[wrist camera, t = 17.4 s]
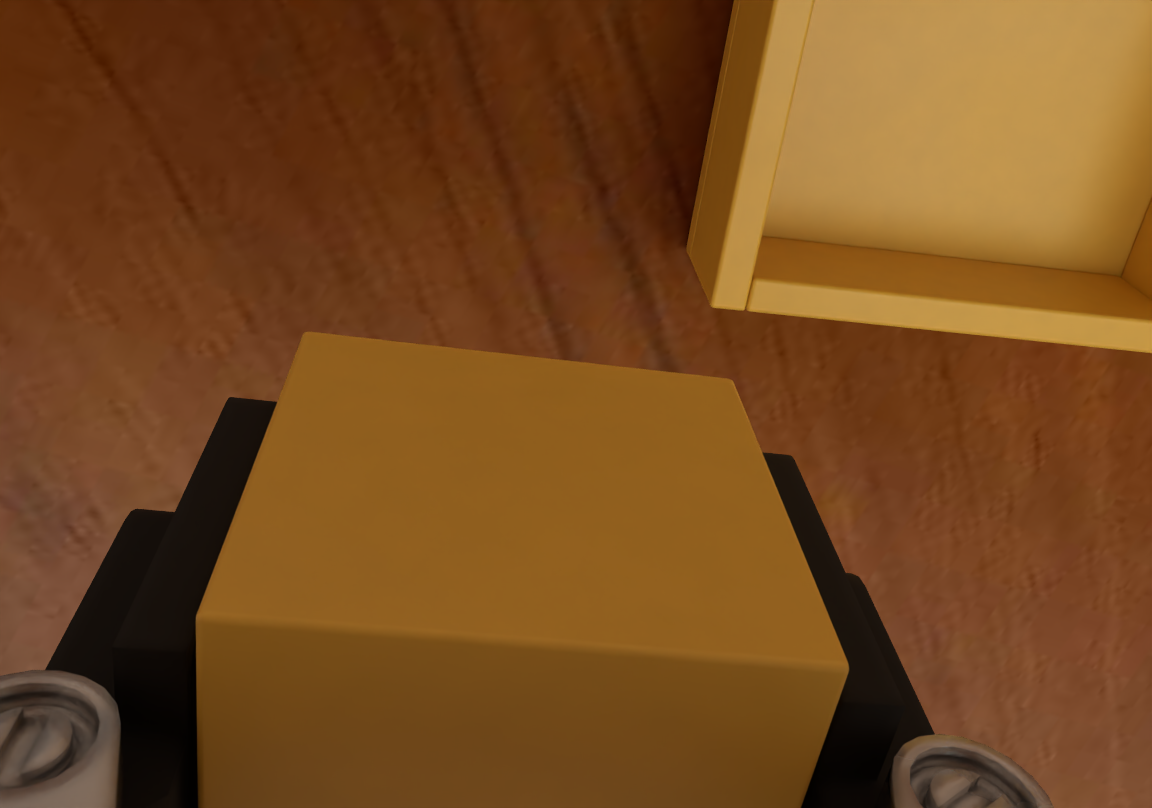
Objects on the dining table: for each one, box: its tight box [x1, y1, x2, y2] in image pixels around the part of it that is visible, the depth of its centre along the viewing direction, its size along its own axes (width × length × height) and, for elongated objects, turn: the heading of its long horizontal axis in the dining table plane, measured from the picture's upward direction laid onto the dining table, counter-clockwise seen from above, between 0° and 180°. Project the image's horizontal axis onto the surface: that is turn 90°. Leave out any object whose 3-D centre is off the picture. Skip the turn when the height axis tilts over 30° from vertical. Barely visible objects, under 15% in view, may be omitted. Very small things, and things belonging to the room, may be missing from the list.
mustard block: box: [196, 332, 849, 808], centre depth 10 cm, size 4×4×4 cm
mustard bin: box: [686, 0, 1152, 353], centre depth 23 cm, size 12×12×4 cm
